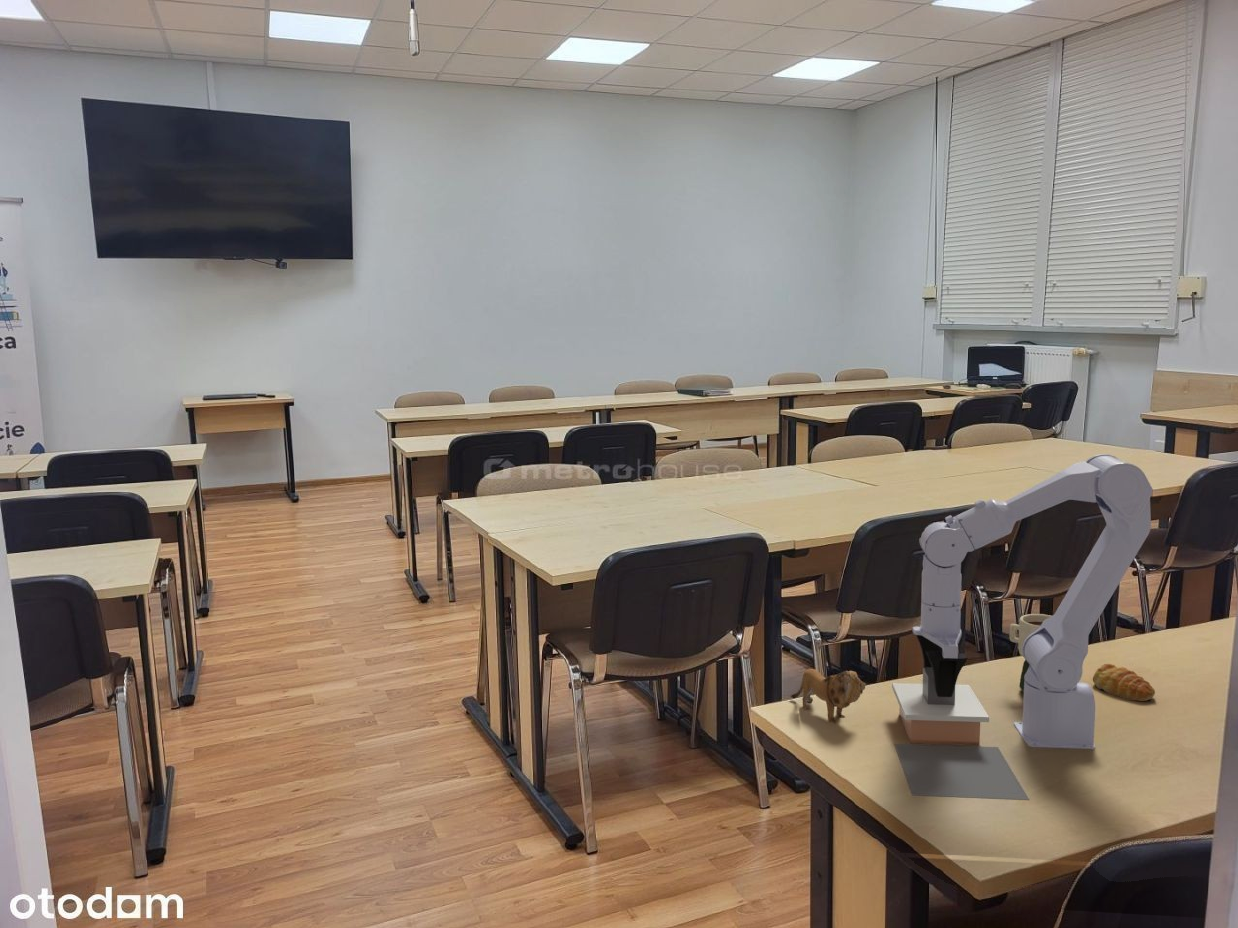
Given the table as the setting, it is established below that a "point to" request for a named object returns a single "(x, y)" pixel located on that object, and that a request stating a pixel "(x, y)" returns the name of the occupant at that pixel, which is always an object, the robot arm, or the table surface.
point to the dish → (942, 731)
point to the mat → (958, 772)
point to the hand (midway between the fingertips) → (938, 686)
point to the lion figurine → (831, 690)
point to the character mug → (1026, 635)
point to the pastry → (1122, 683)
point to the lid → (938, 702)
